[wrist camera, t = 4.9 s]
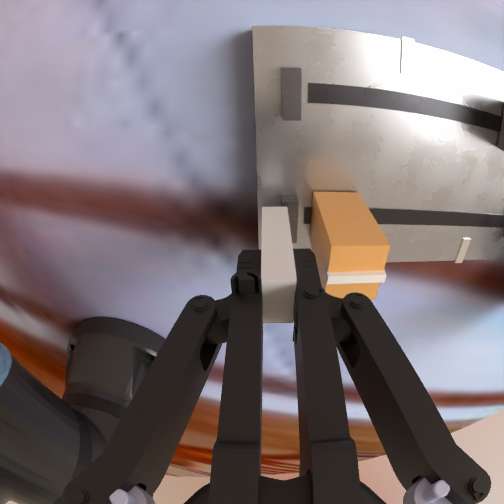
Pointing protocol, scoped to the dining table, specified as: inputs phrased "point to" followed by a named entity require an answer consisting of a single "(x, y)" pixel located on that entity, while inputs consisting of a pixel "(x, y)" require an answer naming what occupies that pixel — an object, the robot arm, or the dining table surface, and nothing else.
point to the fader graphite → (501, 136)
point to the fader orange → (347, 244)
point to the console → (381, 138)
